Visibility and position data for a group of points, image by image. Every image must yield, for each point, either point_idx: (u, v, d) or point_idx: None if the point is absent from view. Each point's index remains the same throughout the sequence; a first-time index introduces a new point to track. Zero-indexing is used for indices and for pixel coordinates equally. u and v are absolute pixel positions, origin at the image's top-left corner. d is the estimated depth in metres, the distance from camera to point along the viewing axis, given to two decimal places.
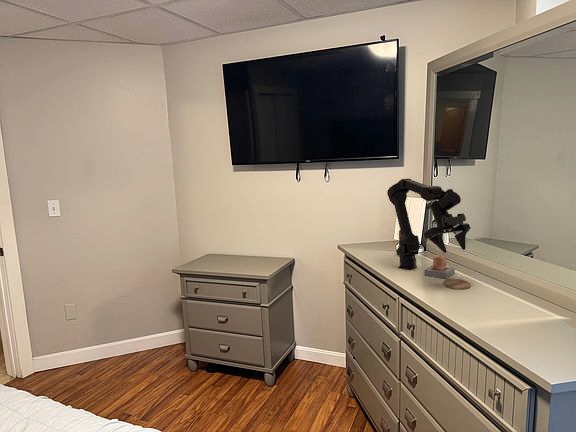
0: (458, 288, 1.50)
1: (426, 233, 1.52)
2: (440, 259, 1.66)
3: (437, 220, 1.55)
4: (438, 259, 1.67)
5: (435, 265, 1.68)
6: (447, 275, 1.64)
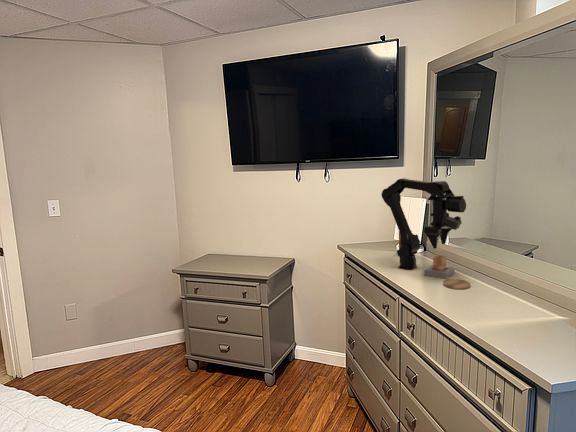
0: (458, 288, 1.50)
1: (428, 229, 1.60)
2: (440, 259, 1.66)
3: (437, 216, 1.63)
4: (438, 259, 1.67)
5: (435, 265, 1.68)
6: (447, 275, 1.64)
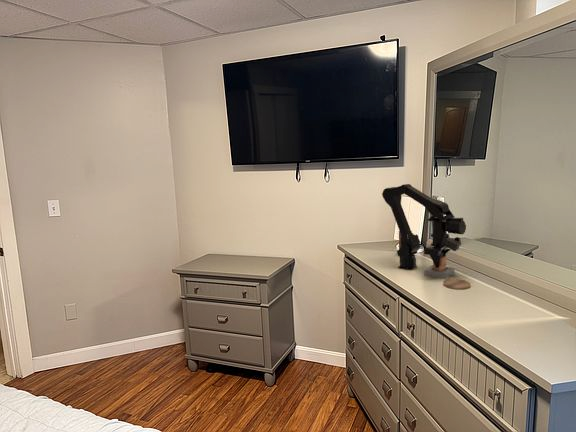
0: (458, 288, 1.50)
1: (428, 251, 1.61)
2: (440, 259, 1.66)
3: (437, 238, 1.65)
4: None
5: None
6: (447, 275, 1.64)
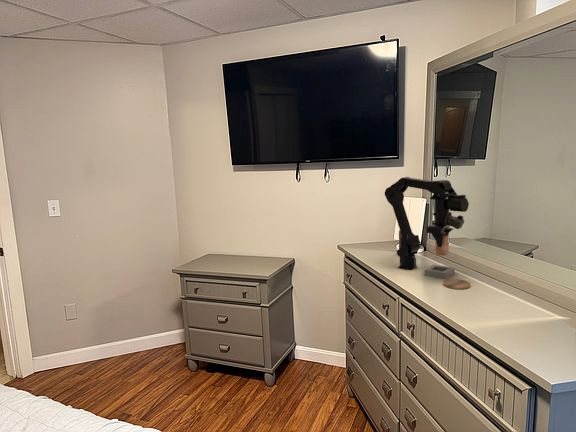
0: (458, 288, 1.50)
1: (431, 229, 1.58)
2: (443, 238, 1.62)
3: (439, 216, 1.61)
4: None
5: None
6: (447, 275, 1.64)
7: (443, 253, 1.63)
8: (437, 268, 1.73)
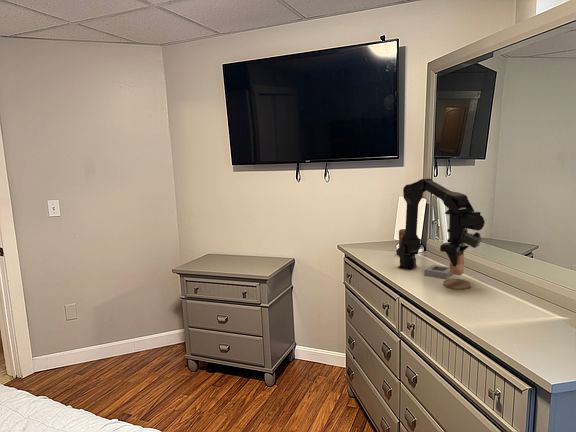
0: (458, 288, 1.50)
1: (445, 247, 1.46)
2: (458, 256, 1.51)
3: (454, 233, 1.49)
4: None
5: None
6: (447, 275, 1.64)
7: (458, 273, 1.52)
8: (437, 268, 1.73)
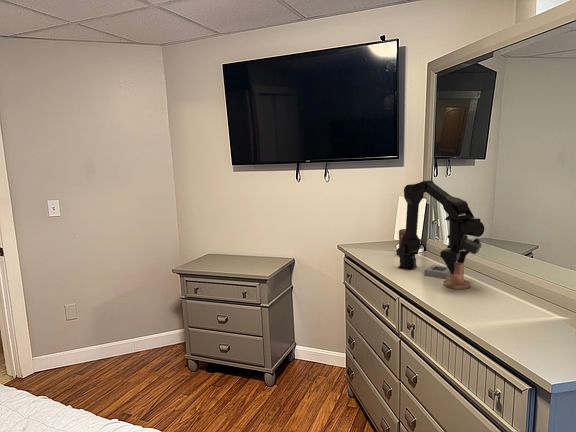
0: (458, 288, 1.50)
1: (445, 254, 1.46)
2: (458, 266, 1.51)
3: (454, 239, 1.50)
4: (456, 266, 1.52)
5: None
6: (447, 275, 1.64)
7: (458, 282, 1.52)
8: (437, 268, 1.73)
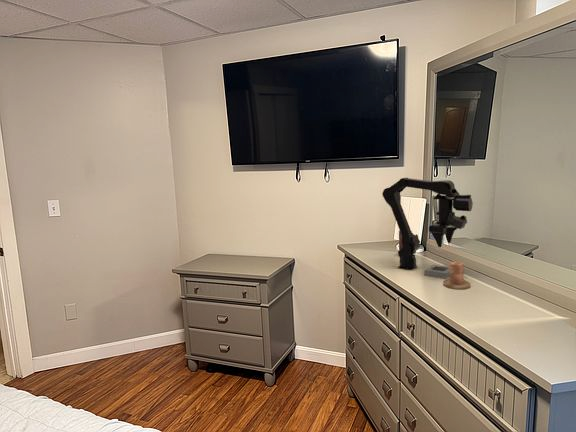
0: (458, 288, 1.50)
1: (433, 228, 1.62)
2: (458, 266, 1.51)
3: (442, 215, 1.65)
4: (456, 266, 1.52)
5: (452, 273, 1.53)
6: (447, 275, 1.64)
7: (458, 282, 1.52)
8: (437, 268, 1.73)
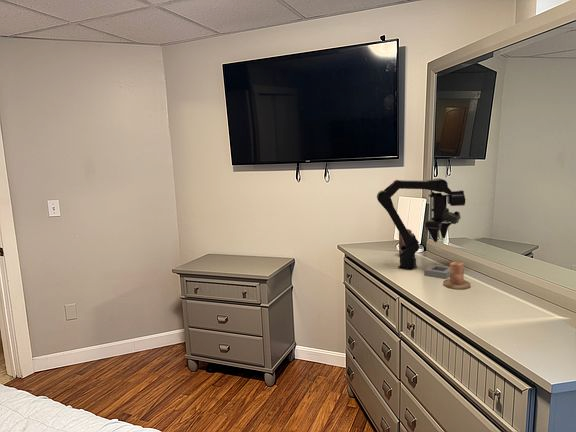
0: (458, 288, 1.50)
1: (429, 224, 1.70)
2: (458, 266, 1.51)
3: (437, 212, 1.73)
4: (456, 266, 1.52)
5: (452, 273, 1.53)
6: (447, 275, 1.64)
7: (458, 282, 1.52)
8: (437, 268, 1.73)
